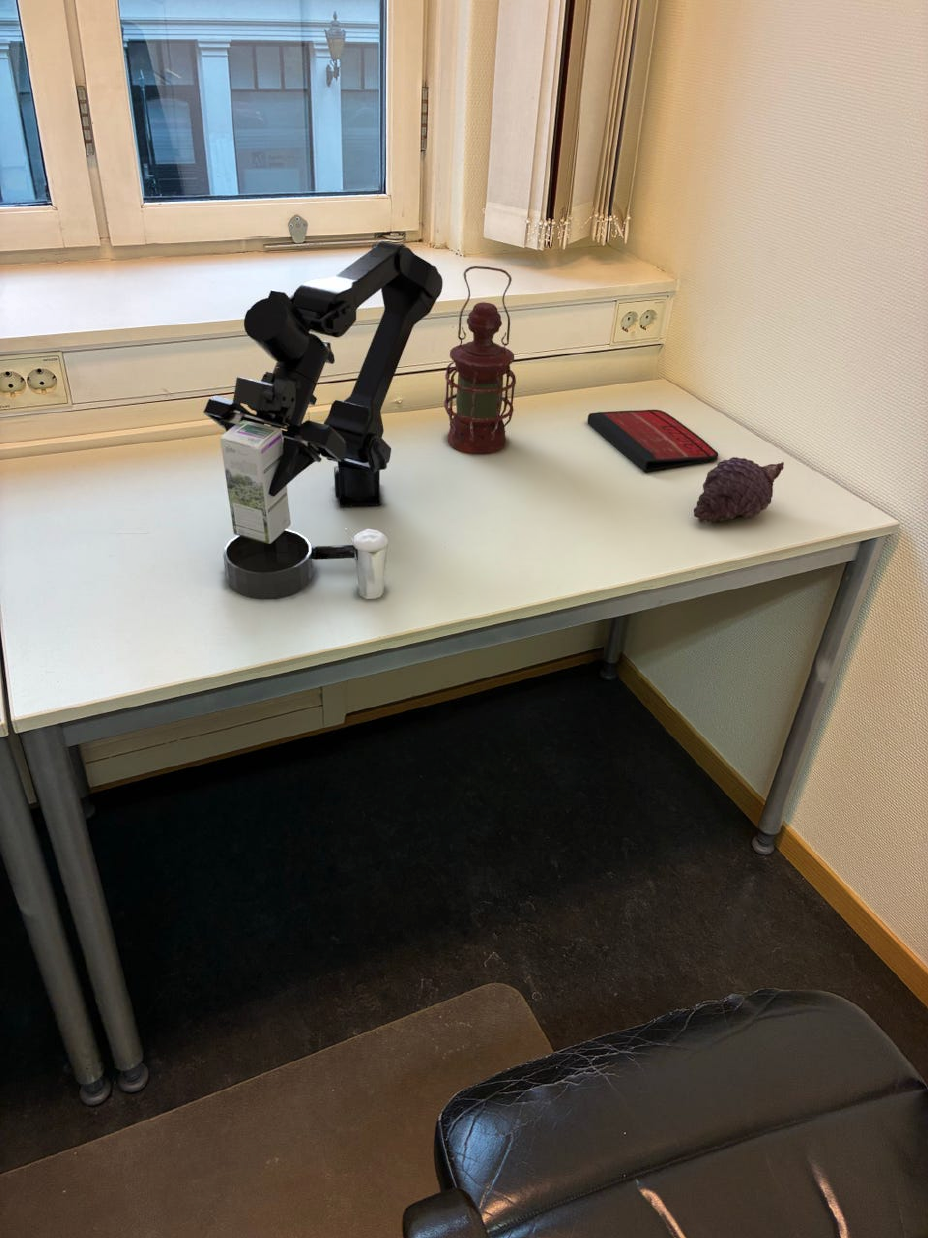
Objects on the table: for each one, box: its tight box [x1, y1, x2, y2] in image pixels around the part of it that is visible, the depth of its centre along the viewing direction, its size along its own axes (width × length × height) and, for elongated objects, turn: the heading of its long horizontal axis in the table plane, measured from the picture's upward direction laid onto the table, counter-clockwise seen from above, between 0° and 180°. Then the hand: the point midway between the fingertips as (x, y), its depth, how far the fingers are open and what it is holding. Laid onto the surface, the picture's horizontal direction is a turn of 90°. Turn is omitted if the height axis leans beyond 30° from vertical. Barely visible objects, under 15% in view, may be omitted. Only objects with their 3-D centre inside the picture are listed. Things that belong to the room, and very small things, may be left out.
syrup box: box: [219, 420, 292, 544], centre depth 118 cm, size 6×6×14 cm
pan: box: [222, 528, 314, 600], centre depth 125 cm, size 12×12×4 cm
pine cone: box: [693, 456, 785, 523], centre depth 144 cm, size 18×10×10 cm
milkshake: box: [345, 527, 389, 600], centre depth 120 cm, size 4×5×10 cm
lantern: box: [443, 265, 517, 455], centre depth 154 cm, size 12×12×30 cm
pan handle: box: [312, 544, 355, 561], centre depth 125 cm, size 10×2×2 cm, turn 99°
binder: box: [586, 409, 719, 473], centre depth 166 cm, size 16×2×21 cm
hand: (251, 489), depth 118 cm, fingers closed on syrup box, 6 cm apart
